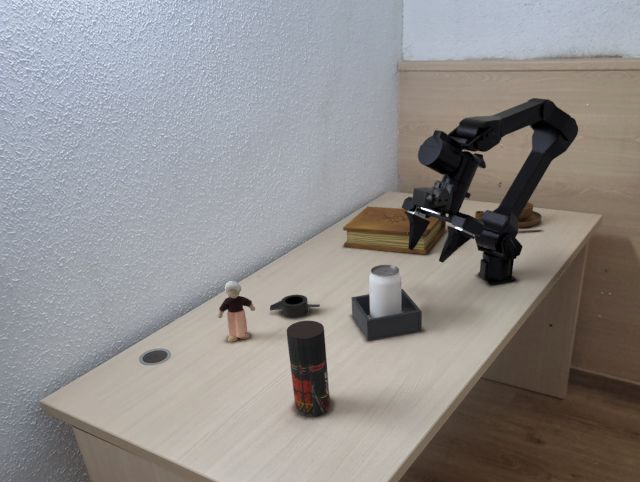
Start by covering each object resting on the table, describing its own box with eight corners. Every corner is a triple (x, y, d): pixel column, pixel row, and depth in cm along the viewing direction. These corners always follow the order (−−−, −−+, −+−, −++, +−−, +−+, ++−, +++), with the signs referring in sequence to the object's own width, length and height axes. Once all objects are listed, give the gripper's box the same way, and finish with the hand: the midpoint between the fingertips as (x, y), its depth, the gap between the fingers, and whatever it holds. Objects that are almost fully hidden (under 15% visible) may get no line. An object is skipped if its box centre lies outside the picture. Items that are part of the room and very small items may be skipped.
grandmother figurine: (226, 346, 125) (216, 289, 118) (220, 338, 128) (210, 282, 121) (261, 335, 127) (253, 279, 121) (254, 328, 130) (246, 273, 124)
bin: (402, 307, 134) (402, 288, 131) (421, 330, 124) (421, 311, 122) (352, 316, 132) (351, 297, 129) (367, 340, 122) (366, 320, 120)
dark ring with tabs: (289, 300, 141) (287, 289, 139) (323, 310, 135) (322, 298, 134) (267, 314, 135) (265, 302, 134) (302, 324, 130) (300, 312, 129)
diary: (445, 230, 172) (446, 210, 169) (426, 255, 158) (426, 233, 155) (369, 224, 181) (368, 204, 178) (344, 246, 167) (343, 226, 164)
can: (400, 331, 125) (399, 276, 118) (368, 330, 126) (366, 276, 120) (402, 316, 130) (402, 263, 124) (372, 315, 131) (370, 263, 125)
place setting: (549, 231, 165) (552, 209, 162) (474, 236, 166) (476, 214, 163) (531, 210, 180) (533, 190, 177) (462, 215, 181) (463, 195, 178)
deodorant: (294, 398, 107) (285, 322, 99) (328, 394, 107) (322, 318, 99) (296, 418, 102) (287, 340, 94) (331, 414, 102) (325, 336, 94)
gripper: (399, 160, 125) (370, 233, 128) (466, 177, 111) (431, 258, 115) (433, 178, 132) (405, 247, 135) (500, 196, 118) (466, 272, 122)
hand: (425, 255), depth 127 cm, fingers open, 9 cm apart
